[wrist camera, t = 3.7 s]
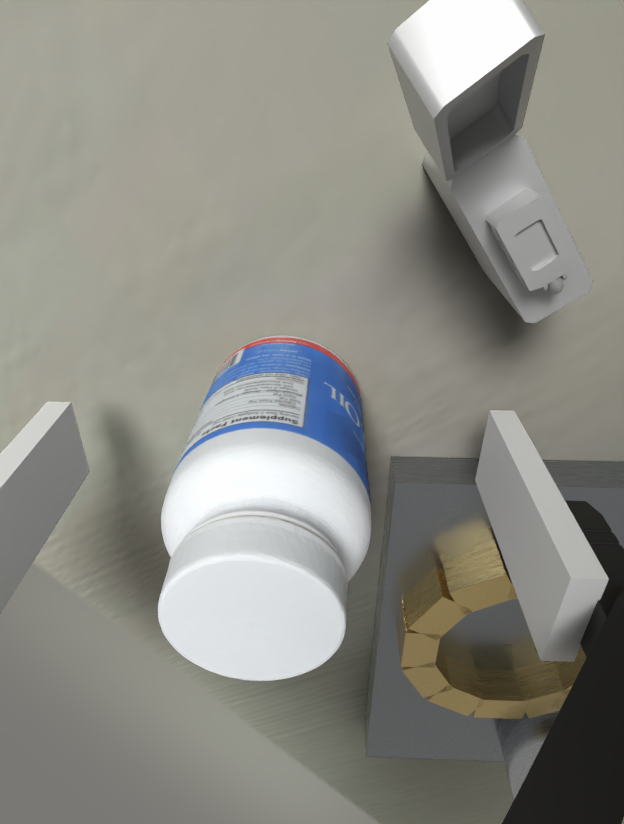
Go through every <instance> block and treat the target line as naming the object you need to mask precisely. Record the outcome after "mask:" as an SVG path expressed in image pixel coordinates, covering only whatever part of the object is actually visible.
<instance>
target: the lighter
mask: <svg viewBox="0 0 624 824" xmlns="http://www.w3.org/2000/svg"><path fill="white" fill-rule="evenodd" d="M544 36H545V34H544V32H543V30H542V29H541V27H540V25H539V24H538V22H537V21H536V19H535V17H534V16H533V14H532V12H531V11H530V9H529V8H528V6H527V4H526V3H525V1H524V0H429V1H428V2H427V3H426V4H425V5H423V6H422V7H421V8H420V9H419V10H418V11H416V12H415V13H414V14H413V15H412V16H411V17H409V18H408V19H407V20H406V21H405V22H403V23H402V24H401V25H400V26H399V27H398V28H396V29H395V31H394V33H393V35H392V36H391V38H390V40H389V42H388V43H387V44H388V47H389V50H390V53H391V57H392V60H393V63H394V66H395V69H396V72H397V75H398V79H399V82H400V85H401V88H402V91H403V94H404V97H405V101H406V104H407V107H408V110H409V113H410V116H411V119H412V123H413V126H414V129H415V131H416V132H417V134H418V136H419V137H420V139H421V140H422V142H423V144H424V145H425V147H426V149H427V150H428V153H427V154H426V155H425V156H424V160H423V164H422V165H423V167H424V169H425V170H426V172H427V174H428V176H429V177H430V179H431V181H432V182H433V184H434V186H435V188H436V189H437V191H438V193H439V195H440V196H441V198H442V200H443V202H444V203H445V205H446V207H447V209H448V210H449V212H450V214H451V216H452V217H453V219H454V221H455V223H456V224H457V226H458V228H459V229H460V231H461V233H462V235H463V236H464V238H465V240H466V242H467V243H468V245H469V247H470V249H471V250H472V252H473V254H474V256H475V257H476V259H477V261H478V263H479V264H480V266H481V268H482V269H483V271H484V272H485V274H486V275H487V276H488V277H489V278H490V280H491V281H492V282H493V283H494V285H495V286H496V287H497V288H498V290H499V291H500V292H501V293H502V294H503V296H504V297H505V298H506V299H507V301H508V302H509V303H510V304H511V305H512V307H513V308H514V309H515V310H516V312H517V313H518V314H519V315H520V317H521V318H522V319H523V320H524V321H525V322H528V323H534V324H535V323H536V322H538V321H540V320H542V319H543V318H545V317H547V316H548V315H550V314H552V313H554V312H555V311H557V310H559V309H561V308H562V307H564V306H566V305H567V304H569V303H571V302H573V301H574V300H576V299H578V298H580V297H581V296H583V295H585V294H586V293H588V292H589V291H590V289H591V287H592V284H593V280H592V278H591V275H590V273H589V271H588V269H587V267H586V265H585V263H584V261H583V259H582V257H581V254H580V252H579V250H578V248H577V246H576V244H575V242H574V240H573V238H572V236H571V233H570V231H569V229H568V227H567V225H566V223H565V221H564V219H563V217H562V215H561V213H560V210H559V208H558V206H557V204H556V202H555V200H554V198H553V196H552V194H551V192H550V189H549V187H548V185H547V183H546V181H545V179H544V177H543V175H542V173H541V171H540V168H539V166H538V164H537V162H536V160H535V158H534V156H533V154H532V152H531V150H530V147H529V145H528V143H527V141H526V139H525V137H523V136H519V135H515V134H516V133H517V132H518V131H519V130H520V129H521V128H522V126H523V122H524V118H525V113H526V109H527V105H528V101H529V97H530V93H531V89H532V85H533V81H534V77H535V73H536V69H537V64H538V60H539V56H540V52H541V48H542V44H543V40H544Z"/></svg>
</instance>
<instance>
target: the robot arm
mask: <svg viewBox="0 0 624 824" xmlns="http://www.w3.org/2000/svg"><path fill="white" fill-rule="evenodd" d="M89 472H90V471H89V467H88V464H87V460H86V456H85V452H84V449H83V445H82V441H81V437H80V434H79V430H78V426H77V422H76V419H75V415H74V411H73V407H72V403H71V402H47V403H46V404H45V405H44V406H43V407H42V408H41V409H40V410H39V411H38V413H37V414H36V415H35V416H34V417H33V418H32V419H31V420H30V421H29V423H28V424H27V425H26V426H25V427H24V428H23V429H22V430H21V431H20V433H19V434H18V435H17V436H16V437H15V438H14V439H13V440H12V441H11V443H10V444H9V445H8V446H7V447H6V448H5V449H4V450H3V451H2V453H1V454H0V614H1V612H2V610H3V609H4V607H5V606H6V604H7V602H8V601H9V599H10V598H11V596H12V595H13V593H14V591H15V590H16V588H17V586H18V585H19V583H20V582H21V580H22V578H23V577H24V575H25V574H26V572H27V571H28V569H29V567H30V566H31V564H32V563H33V561H34V560H35V558H36V556H37V555H38V553H39V552H40V550H41V548H42V547H43V545H44V544H45V542H46V540H47V539H48V537H49V536H50V534H51V532H52V531H53V529H54V528H55V526H56V524H57V523H58V521H59V520H60V518H61V517H62V515H63V513H64V512H65V510H66V509H67V507H68V505H69V504H70V502H71V501H72V499H73V497H74V496H75V494H76V493H77V491H78V489H79V488H80V486H81V485H82V483H83V481H84V480H85V478H86V477H87V475H88V473H89ZM475 482H476V484H477V487H478V490H479V493H480V495H481V498H482V501H483V504H484V506H485V509H486V512H487V515H488V517H489V520H490V523H491V526H492V528H493V531H494V534H495V537H496V539H497V542H498V545H499V548H500V550H501V553H502V556H503V559H504V561H505V564H506V567H507V570H508V572H509V575H510V578H511V581H512V583H513V586H514V589H515V592H516V594H517V597H518V600H519V603H520V605H521V608H522V611H523V614H524V616H525V619H526V622H527V625H528V627H529V630H530V633H531V636H532V639H533V641H534V644H535V647H536V650H537V652H538V655H539V658H540V661H564V662H574V661H575V659H576V656H577V654H578V651H579V649H580V647H581V646H582V649H583V651H584V653H585V655H586V660H585V662H584V664H583V666H582V668H581V670H580V672H579V674H578V676H577V678H576V680H575V682H574V684H573V686H572V688H571V690H570V692H569V694H568V695H567V697H566V699H565V701H564V703H563V705H562V707H561V709H560V711H559V713H558V715H557V717H556V719H555V721H554V723H553V725H552V727H551V729H550V731H549V733H548V735H547V737H546V739H545V741H544V743H543V744H542V746H541V748H540V750H539V752H538V754H537V756H536V758H535V760H534V762H533V764H532V766H531V768H530V770H529V772H528V774H527V776H526V778H525V780H524V782H523V784H522V786H521V788H520V790H519V792H518V793H517V795H516V797H515V799H514V801H513V803H512V805H511V807H510V809H509V811H508V813H507V815H506V817H505V819H504V821H503V823H502V824H621V823H622V820H623V817H624V549H623V547H622V545H619V541H618V539H617V537H616V536H615V534H614V533H612V530H611V528H610V526H609V525H608V523H607V522H606V520H605V518H604V517H603V515H602V514H601V513H600V512H598V511H597V510H596V509H595V508H594V507H592V506H591V505H590V504H589V503H588V502H586V501H565V500H564V498H563V496H562V495H561V493H560V491H559V489H558V488H557V486H556V484H555V482H554V480H553V479H552V477H551V475H550V473H549V472H548V470H547V468H546V466H545V464H544V463H543V461H542V459H541V457H540V455H539V454H538V452H537V450H536V448H535V447H534V445H533V443H532V441H531V439H530V438H529V436H528V434H527V432H526V431H525V429H524V427H523V425H522V423H521V422H520V420H519V418H518V416H517V415H516V413H515V411H502V410H489V415H488V420H487V425H486V429H485V434H484V439H483V444H482V449H481V454H480V459H479V464H478V468H477V473H476V478H475Z"/></svg>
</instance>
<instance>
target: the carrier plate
mask: <svg viewBox="0 0 624 824" xmlns="http://www.w3.org/2000/svg"><path fill="white" fill-rule="evenodd" d="M542 461H543V463H544V464H545V466H546V468H547V470H548V472H549V473H550V475H551V477H552V479H553V480H554V482H555V484H556V486H557V488H558V489H559V491H560V493H561V495H562V496H563V498H564V500H565V501H586V502H588V503H589V504H590V505H591V506H592V507H594V508H595V509H596V510H597V511H598V512H600V513H601V514H602V515H603V517H604V518H605V520H606V522H607V523H608V525H609V526H610V528H611V530H612V533H614V534H615V536H616V537H617V539H618V541H619V545H622V547H623V549H624V462H603V461H558V460H542ZM478 464H479V459H469V458H424V457H391V465H390V475H389V485H388V496H387V506H386V516H385V526H384V536H383V546H382V556H381V566H380V576H379V586H378V596H377V606H376V616H375V626H374V636H373V646H372V656H371V667H370V677H369V687H368V697H367V707H366V717H365V746H366V756H369V757H396V758H423V759H450V760H477V761H504V762H505V766H506V770H507V774H508V778H509V782H510V786H511V790H512V794H513V798H514V799H515V797H516V795H517V793H518V792H519V790H520V788H521V786H522V784H523V782H524V780H525V778H526V776H527V774H528V772H529V770H530V768H531V766H532V764H533V762H534V760H535V758H536V756H537V754H538V752H539V750H540V748H541V746H542V744H543V743H544V741H545V739H546V737H547V735H548V733H549V731H550V729H551V727H552V725H553V723H554V721H555V719H556V717H557V715H558V713H559V711H560V709H561V707H562V705H563V703H564V701H565V699H566V697H567V695H568V694H569V692H570V690H571V688H572V686H573V684H574V682H575V680H576V678H577V676H578V674H579V672H580V670H581V668H582V666H583V664H584V662H585V660H586V655H585V653H584V651H583V649H582V646H581V647H580V649H579V651H578V654H577V656H576V659H575V661H574V662H564V661H540V658H539V655H538V652H537V650H536V647H535V644H534V641H533V639H532V636H531V633H530V630H529V627H528V625H527V622H526V619H525V616H524V614H523V611H522V608H521V605H520V603H519V600H518V597H517V594H516V592H515V589H514V586H513V583H512V581H511V578H510V575H509V572H508V570H507V567H506V564H505V561H504V559H503V556H502V553H501V550H500V548H499V545H498V542H497V539H496V537H495V534H494V531H493V528H492V526H491V523H490V520H489V517H488V515H487V512H486V509H485V506H484V504H483V501H482V498H481V495H480V493H479V490H478V487H477V484H476V482H475V478H476V473H477V468H478Z"/></svg>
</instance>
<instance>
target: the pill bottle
mask: <svg viewBox="0 0 624 824" xmlns="http://www.w3.org/2000/svg"><path fill="white" fill-rule="evenodd" d="M161 529H162V535H163V540H164V543H165V546H166V548H167V551H168V553H169V555H170V557H171V559H170V562H169V567H168V571H167V574H166V577H165V580H164V584H163V587H162V591H161V594H160V598H159V602H158V619H159V623H160V626H161V629H162V631H163V634H164V635H165V637H166V638H167V640H168V641H169V643H170V644H171V645H172V646H173V647H174V648H175V649H176V650H177V651H178V652H179V653H180V654H181V655H182V656H184V657H185V658H186V659H188V660H189V661H191V662H192V663H194V664H196V665H198V666H200V667H202V668H204V669H206V670H208V671H211V672H214V673H217V674H219V675H222V676H226V677H230V678H236V679H241V680H251V681H273V680H280V679H286V678H291V677H295V676H298V675H301V674H304V673H306V672H309V671H311V670H313V669H315V668H317V667H319V666H320V665H322V664H323V663H324V662H326V661H327V660H328V659H330V658H331V656H332V655H333V654H334V653H335V652H336V651H337V650H338V648H339V647H340V645H341V643H342V641H343V638H344V635H345V631H346V624H347V595H348V582H349V581H350V579H351V578H352V577H353V576H354V575H355V574H356V572H357V571H358V569H359V567H360V566H361V564H362V562H363V560H364V558H365V556H366V554H367V551H368V548H369V545H370V539H371V502H370V491H369V484H368V474H367V462H366V452H365V441H364V430H363V419H362V408H361V399H360V394H359V390H358V386H357V383H356V381H355V378H354V376H353V374H352V373H351V371H350V369H349V368H348V366H347V365H346V364H345V363H344V362H343V361H342V360H341V359H340V358H339V357H338V356H337V355H336V354H335V353H334V352H332V351H331V350H329V349H328V348H326V347H324V346H323V345H321V344H319V343H316V342H314V341H311V340H308V339H305V338H301V337H295V336H270V337H265V338H260V339H258V340H255V341H252V342H250V343H248V344H246V345H244V346H242V347H241V348H239V349H238V350H236V351H235V352H234V353H233V354H232V355H231V356H230V357H229V358H228V359H227V360H226V361H225V362H224V363H223V365H222V366H221V367H220V369H219V370H218V372H217V374H216V376H215V378H214V380H213V382H212V384H211V387H210V389H209V392H208V394H207V396H206V399H205V401H204V403H203V406H202V408H201V410H200V413H199V415H198V417H197V419H196V421H195V424H194V426H193V429H192V431H191V434H190V436H189V438H188V441H187V443H186V446H185V448H184V450H183V453H182V455H181V457H180V460H179V462H178V464H177V467H176V470H175V472H174V474H173V477H172V479H171V482H170V485H169V488H168V490H167V493H166V496H165V499H164V503H163V507H162V513H161Z"/></svg>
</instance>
